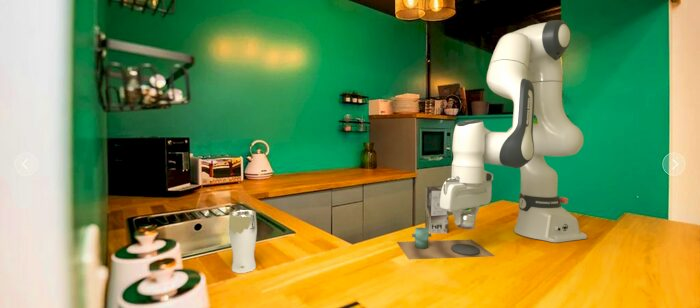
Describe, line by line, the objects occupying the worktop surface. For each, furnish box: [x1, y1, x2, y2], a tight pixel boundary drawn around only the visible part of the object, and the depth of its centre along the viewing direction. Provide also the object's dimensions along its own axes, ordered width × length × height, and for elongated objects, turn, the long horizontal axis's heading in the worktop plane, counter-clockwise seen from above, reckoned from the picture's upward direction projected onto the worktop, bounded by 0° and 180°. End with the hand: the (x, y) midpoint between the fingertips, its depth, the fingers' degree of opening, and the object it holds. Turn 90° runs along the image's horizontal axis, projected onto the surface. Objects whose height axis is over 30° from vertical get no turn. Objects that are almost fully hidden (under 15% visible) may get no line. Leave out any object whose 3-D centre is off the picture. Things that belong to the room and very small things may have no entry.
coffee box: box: [424, 185, 450, 234], centre depth 116 cm, size 9×6×16 cm
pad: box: [451, 244, 480, 256], centre depth 96 cm, size 8×8×1 cm
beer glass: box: [228, 209, 258, 274], centre depth 86 cm, size 7×7×15 cm
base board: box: [396, 227, 495, 260], centre depth 97 cm, size 25×14×7 cm, turn 96°
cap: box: [455, 209, 476, 230], centre depth 95 cm, size 5×5×5 cm
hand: (465, 222), depth 95 cm, fingers closed on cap, 5 cm apart
